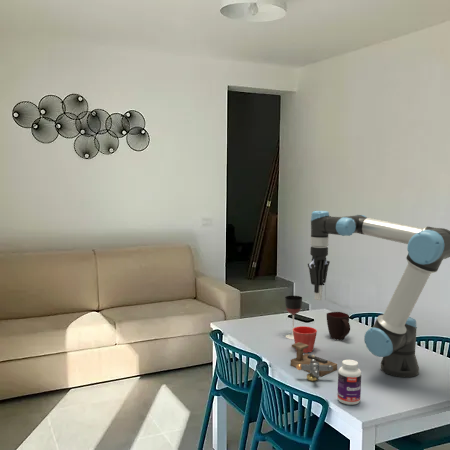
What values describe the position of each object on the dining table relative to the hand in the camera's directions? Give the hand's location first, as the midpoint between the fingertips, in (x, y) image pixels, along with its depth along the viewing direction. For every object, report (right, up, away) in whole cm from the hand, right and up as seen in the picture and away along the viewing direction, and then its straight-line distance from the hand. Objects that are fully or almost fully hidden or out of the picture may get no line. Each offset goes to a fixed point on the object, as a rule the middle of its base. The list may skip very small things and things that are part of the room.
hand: (318, 299), depth 222 cm
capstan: (-5, -29, -21) cm, 36 cm away
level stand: (-3, -27, -8) cm, 29 cm away
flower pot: (-4, -25, +13) cm, 29 cm away
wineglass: (-7, -23, +32) cm, 40 cm away
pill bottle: (+4, -31, -40) cm, 50 cm away
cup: (+16, -24, +28) cm, 40 cm away
